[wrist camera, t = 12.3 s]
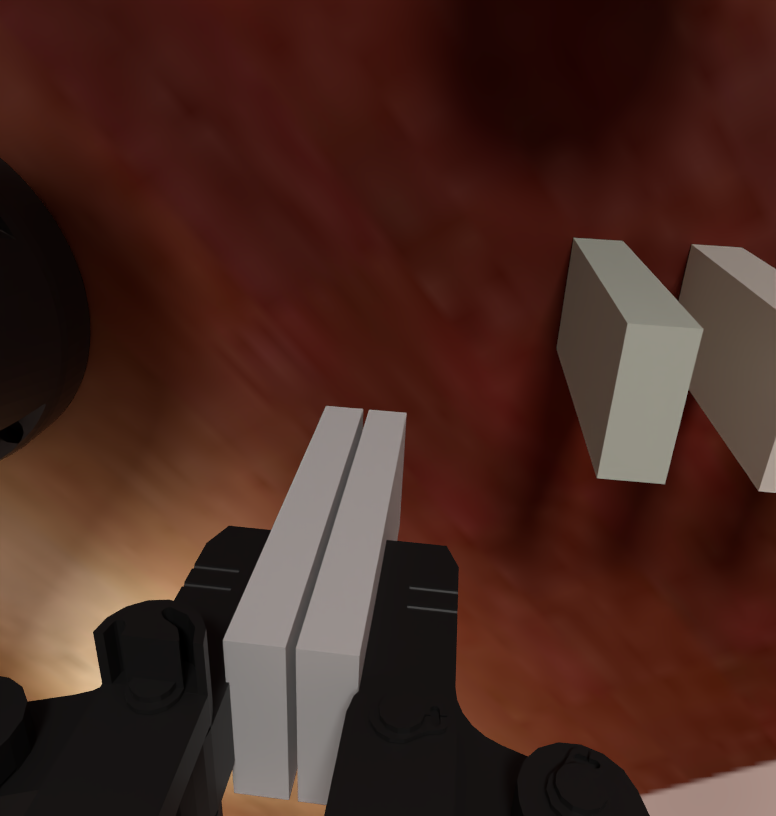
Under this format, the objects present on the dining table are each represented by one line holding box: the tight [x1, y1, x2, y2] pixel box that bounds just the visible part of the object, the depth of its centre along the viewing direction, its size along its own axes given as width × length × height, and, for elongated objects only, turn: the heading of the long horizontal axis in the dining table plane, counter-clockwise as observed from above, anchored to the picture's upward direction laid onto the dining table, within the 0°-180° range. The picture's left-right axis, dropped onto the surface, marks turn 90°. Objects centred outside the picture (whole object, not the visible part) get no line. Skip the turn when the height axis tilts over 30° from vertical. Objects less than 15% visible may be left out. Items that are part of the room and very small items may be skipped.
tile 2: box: [678, 244, 776, 493], centre depth 22 cm, size 2×4×10 cm, turn 177°
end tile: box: [556, 238, 703, 484], centre depth 22 cm, size 2×4×10 cm, turn 178°
